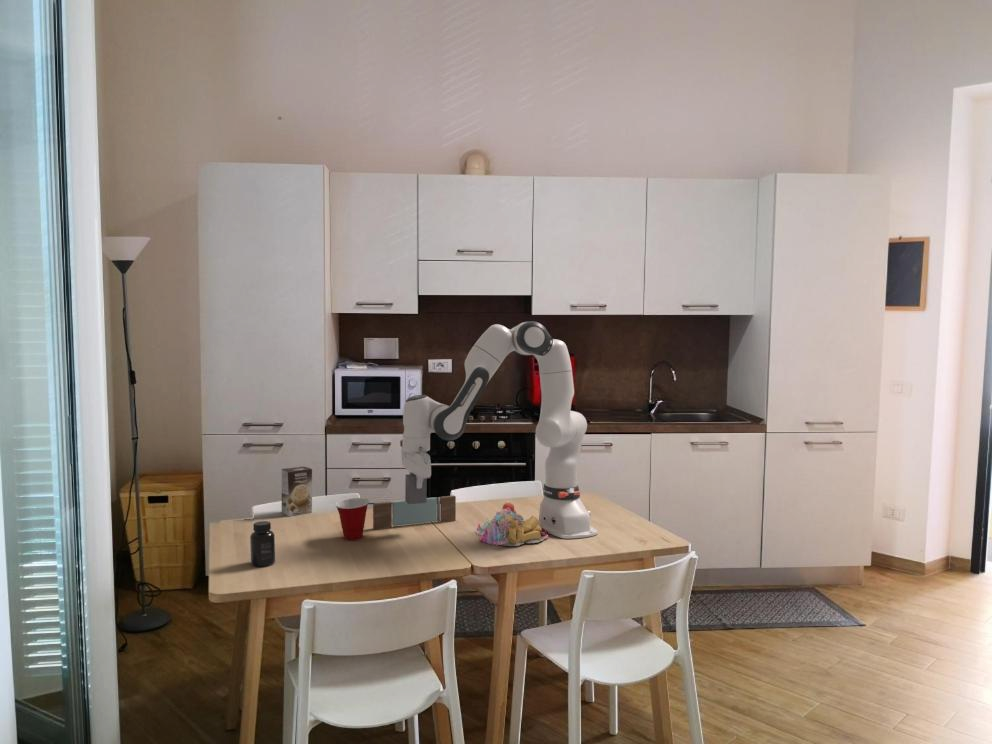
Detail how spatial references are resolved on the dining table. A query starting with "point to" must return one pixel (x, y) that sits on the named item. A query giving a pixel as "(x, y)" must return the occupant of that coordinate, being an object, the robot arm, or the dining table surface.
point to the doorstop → (415, 490)
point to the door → (415, 512)
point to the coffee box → (296, 491)
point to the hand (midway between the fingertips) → (416, 486)
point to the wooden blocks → (384, 512)
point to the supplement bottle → (262, 544)
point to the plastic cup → (352, 517)
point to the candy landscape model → (511, 529)
